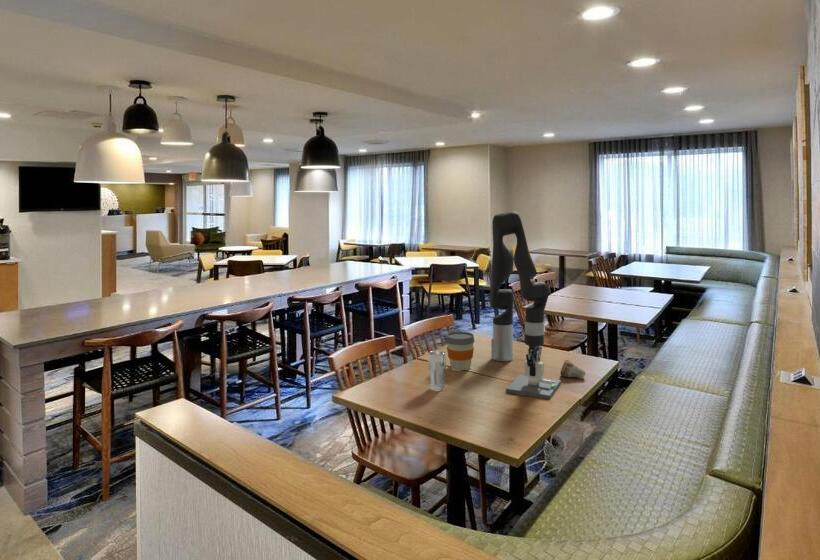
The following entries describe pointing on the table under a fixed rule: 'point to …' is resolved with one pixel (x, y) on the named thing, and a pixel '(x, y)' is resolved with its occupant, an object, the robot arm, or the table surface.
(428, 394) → the table surface
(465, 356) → the reusable coffee cup
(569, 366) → the mug
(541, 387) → the dial board
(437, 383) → the beer glass
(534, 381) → the peg knob
